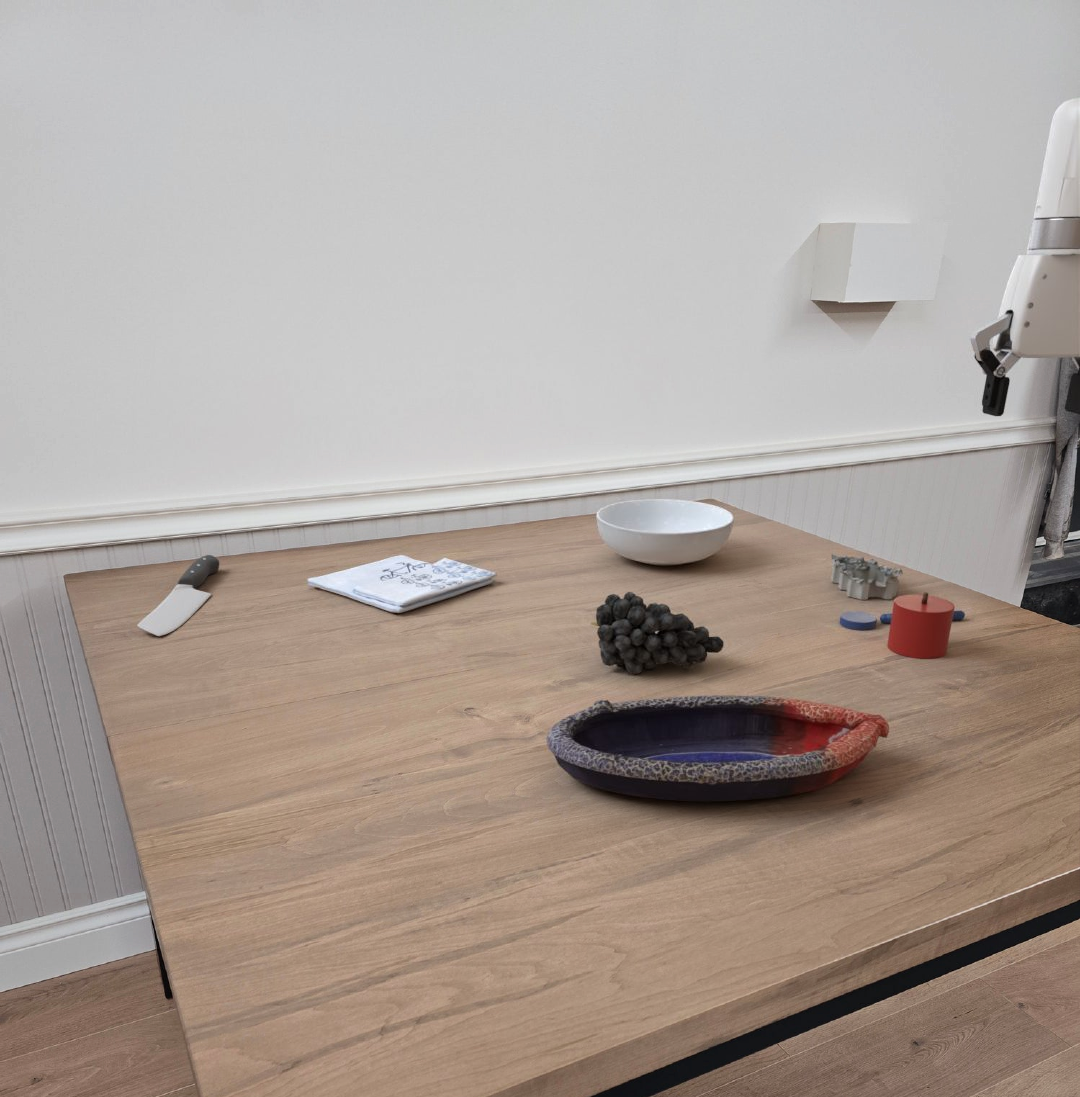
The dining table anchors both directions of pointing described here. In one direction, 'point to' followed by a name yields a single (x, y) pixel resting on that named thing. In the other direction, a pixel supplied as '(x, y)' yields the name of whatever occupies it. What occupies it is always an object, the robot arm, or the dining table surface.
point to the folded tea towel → (404, 582)
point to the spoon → (874, 619)
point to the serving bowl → (664, 530)
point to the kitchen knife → (181, 599)
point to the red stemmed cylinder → (920, 626)
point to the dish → (713, 746)
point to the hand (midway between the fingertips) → (1034, 413)
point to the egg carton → (864, 578)
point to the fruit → (649, 635)
